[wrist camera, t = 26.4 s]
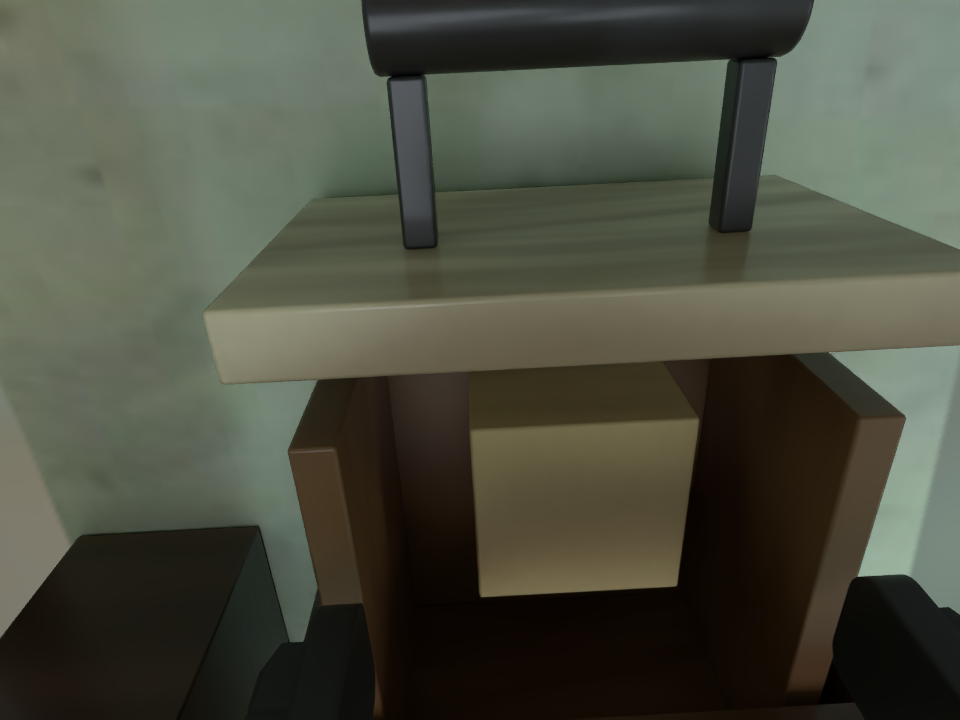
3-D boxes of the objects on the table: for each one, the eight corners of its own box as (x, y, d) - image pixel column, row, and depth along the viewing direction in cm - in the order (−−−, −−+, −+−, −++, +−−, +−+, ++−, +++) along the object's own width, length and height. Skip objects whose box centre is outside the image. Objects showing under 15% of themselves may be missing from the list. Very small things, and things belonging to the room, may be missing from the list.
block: (466, 334, 16) (469, 430, 12) (640, 326, 16) (701, 418, 12) (474, 476, 18) (479, 598, 14) (629, 468, 18) (678, 588, 14)
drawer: (277, -4, 13) (101, -53, 7) (810, -30, 13) (1147, -104, 7) (376, 598, 21) (339, 843, 15) (710, 580, 21) (821, 815, 15)
